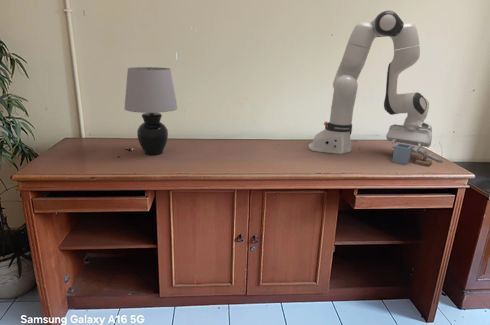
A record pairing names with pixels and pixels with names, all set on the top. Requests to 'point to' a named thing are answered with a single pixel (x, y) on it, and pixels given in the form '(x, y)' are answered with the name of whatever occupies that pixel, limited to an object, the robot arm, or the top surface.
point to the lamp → (150, 104)
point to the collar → (402, 154)
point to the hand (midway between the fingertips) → (404, 150)
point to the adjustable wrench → (428, 155)
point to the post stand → (423, 161)
